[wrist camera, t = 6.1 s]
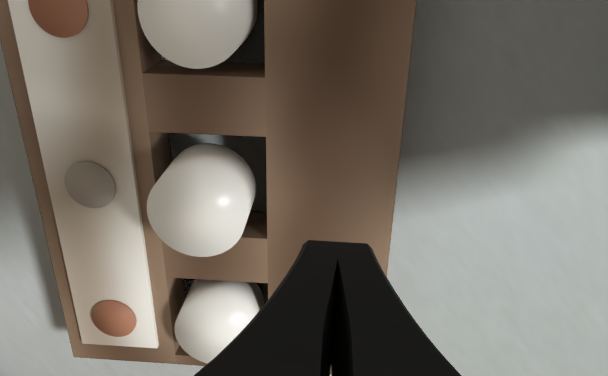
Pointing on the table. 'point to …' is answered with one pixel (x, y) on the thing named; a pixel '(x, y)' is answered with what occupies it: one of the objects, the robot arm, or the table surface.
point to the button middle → (202, 200)
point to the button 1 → (197, 28)
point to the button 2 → (215, 315)
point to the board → (200, 120)
